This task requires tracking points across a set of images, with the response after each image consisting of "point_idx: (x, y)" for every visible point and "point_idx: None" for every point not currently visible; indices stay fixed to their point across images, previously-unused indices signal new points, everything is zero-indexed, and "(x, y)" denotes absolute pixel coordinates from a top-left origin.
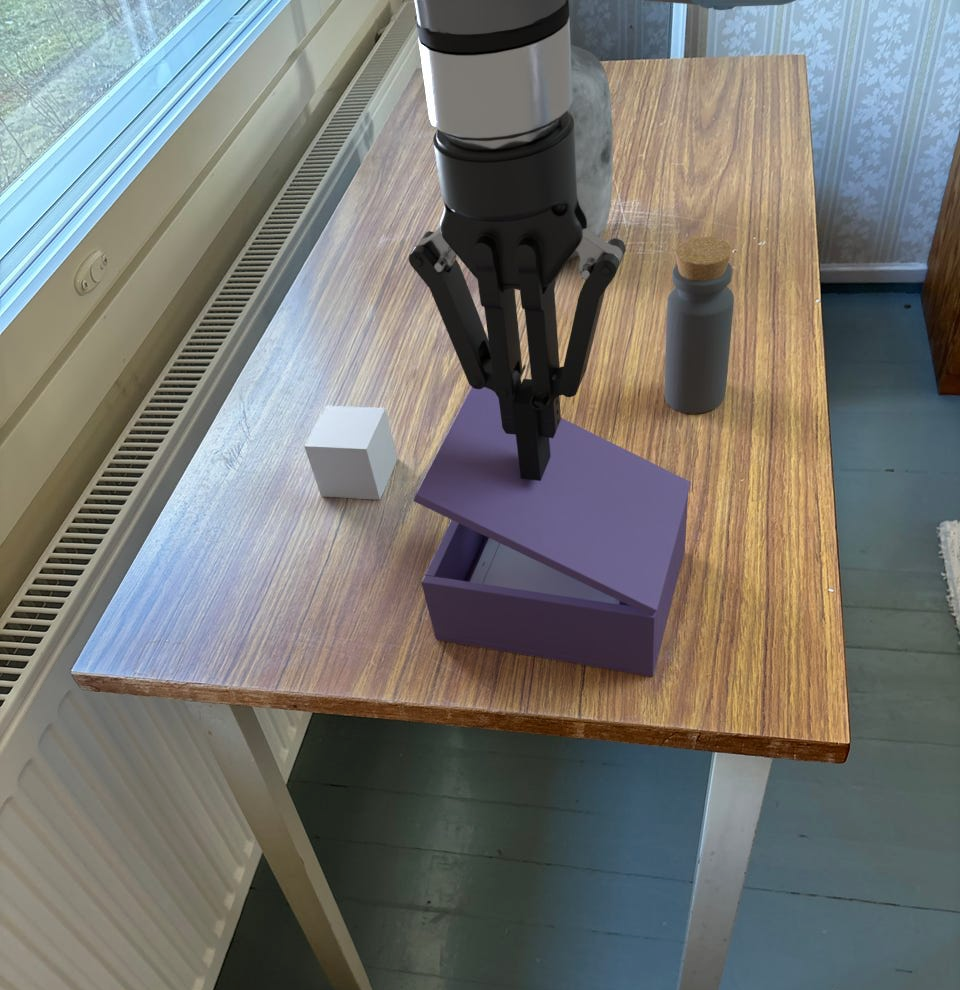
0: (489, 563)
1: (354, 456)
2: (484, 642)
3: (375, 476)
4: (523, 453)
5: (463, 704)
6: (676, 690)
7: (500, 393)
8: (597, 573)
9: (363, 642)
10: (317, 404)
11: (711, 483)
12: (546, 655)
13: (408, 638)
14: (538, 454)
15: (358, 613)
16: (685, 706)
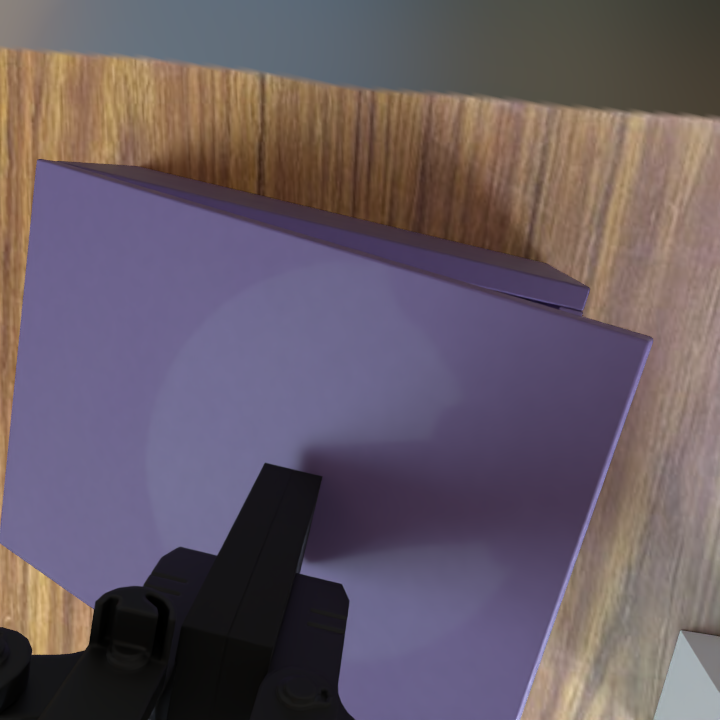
0: None
1: None
2: (448, 241)
3: (701, 673)
4: (291, 516)
5: (483, 101)
6: (93, 135)
7: (312, 688)
8: (144, 217)
9: (696, 261)
10: None
11: (58, 616)
12: (328, 212)
13: (602, 269)
14: (242, 506)
15: (710, 337)
16: (76, 97)
